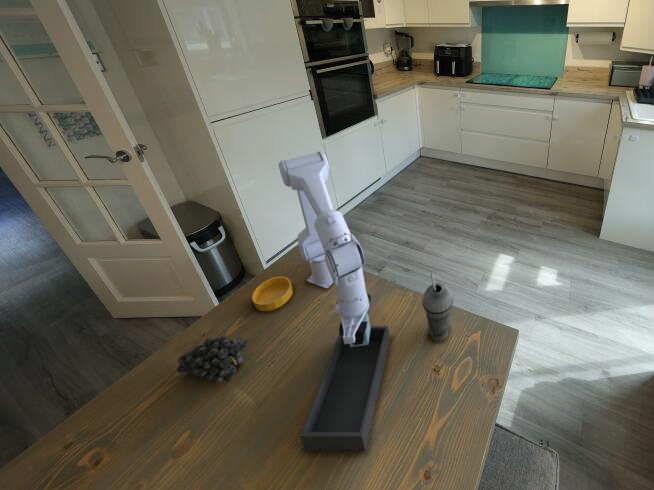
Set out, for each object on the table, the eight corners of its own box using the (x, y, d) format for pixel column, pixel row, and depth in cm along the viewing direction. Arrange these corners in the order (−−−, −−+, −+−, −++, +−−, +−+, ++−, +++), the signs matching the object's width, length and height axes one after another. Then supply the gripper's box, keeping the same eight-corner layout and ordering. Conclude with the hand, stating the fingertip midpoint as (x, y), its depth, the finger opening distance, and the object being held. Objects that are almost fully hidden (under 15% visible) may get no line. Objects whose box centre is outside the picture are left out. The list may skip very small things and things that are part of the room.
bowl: (276, 280, 93) (274, 273, 92) (300, 289, 90) (298, 282, 89) (247, 305, 85) (243, 298, 84) (272, 316, 82) (269, 309, 81)
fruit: (157, 350, 65) (225, 354, 64) (194, 324, 73) (254, 327, 72) (161, 388, 66) (228, 392, 65) (197, 358, 74) (257, 361, 73)
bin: (345, 339, 77) (341, 325, 75) (390, 339, 77) (388, 326, 75) (305, 450, 58) (299, 436, 56) (365, 450, 58) (361, 436, 56)
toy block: (353, 330, 73) (349, 314, 71) (370, 328, 74) (367, 312, 72) (350, 347, 70) (346, 331, 68) (368, 344, 70) (365, 328, 68)
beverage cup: (449, 349, 75) (448, 289, 67) (420, 343, 76) (415, 284, 68) (456, 322, 81) (455, 264, 73) (429, 317, 83) (426, 260, 74)
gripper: (339, 267, 72) (348, 308, 77) (322, 325, 59) (334, 369, 64) (370, 264, 73) (377, 304, 78) (361, 320, 60) (369, 364, 65)
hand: (360, 333), depth 71 cm, fingers closed on toy block, 4 cm apart
